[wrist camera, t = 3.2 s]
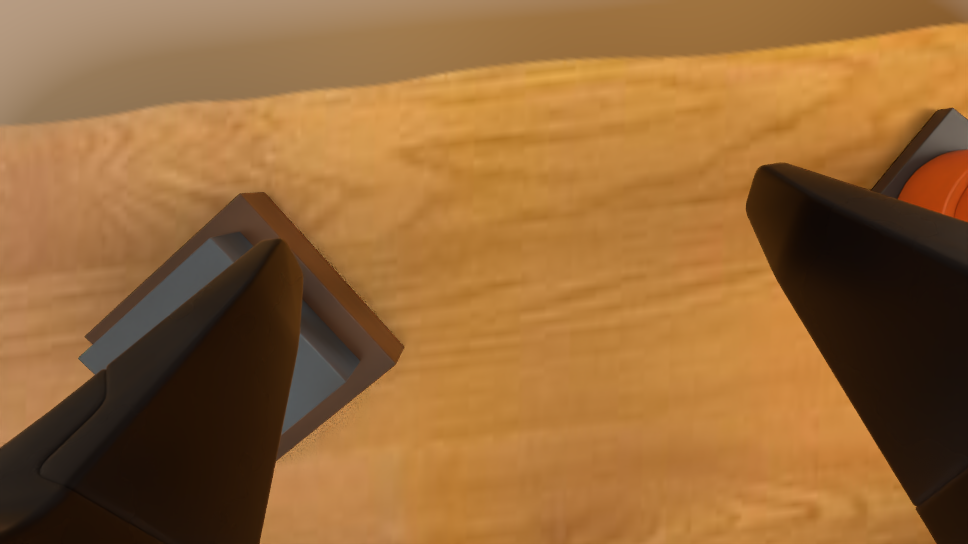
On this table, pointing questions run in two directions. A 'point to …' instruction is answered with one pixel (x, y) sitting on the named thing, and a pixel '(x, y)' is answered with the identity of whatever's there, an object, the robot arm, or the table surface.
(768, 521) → the table surface
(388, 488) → the table surface
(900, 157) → the cone
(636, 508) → the table surface
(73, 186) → the table surface
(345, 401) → the block stack
